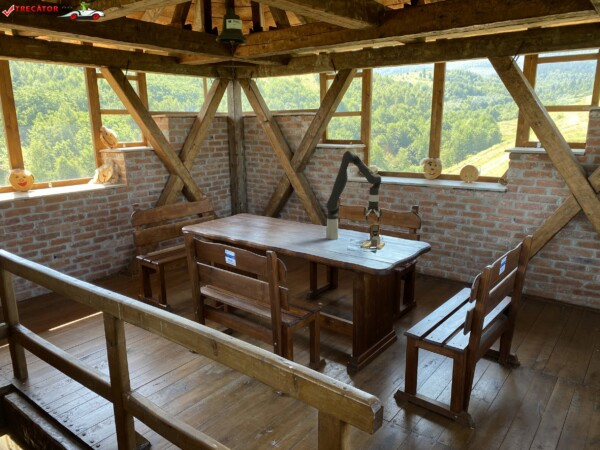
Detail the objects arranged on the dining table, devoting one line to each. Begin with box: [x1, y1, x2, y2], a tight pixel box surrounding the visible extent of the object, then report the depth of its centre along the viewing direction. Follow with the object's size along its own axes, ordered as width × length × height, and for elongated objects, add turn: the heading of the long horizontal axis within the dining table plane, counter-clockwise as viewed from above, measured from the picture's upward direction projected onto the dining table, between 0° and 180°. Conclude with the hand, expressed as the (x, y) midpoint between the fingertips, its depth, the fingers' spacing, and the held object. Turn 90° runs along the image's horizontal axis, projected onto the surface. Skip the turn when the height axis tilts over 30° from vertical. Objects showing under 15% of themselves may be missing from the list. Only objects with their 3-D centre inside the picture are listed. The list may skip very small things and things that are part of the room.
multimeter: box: [366, 215, 384, 242], centre depth 366 cm, size 15×10×20 cm
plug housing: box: [370, 236, 381, 246], centre depth 348 cm, size 5×11×5 cm, turn 157°
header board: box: [360, 240, 386, 250], centre depth 350 cm, size 16×15×5 cm
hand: (372, 220), depth 346 cm, fingers open, 8 cm apart
